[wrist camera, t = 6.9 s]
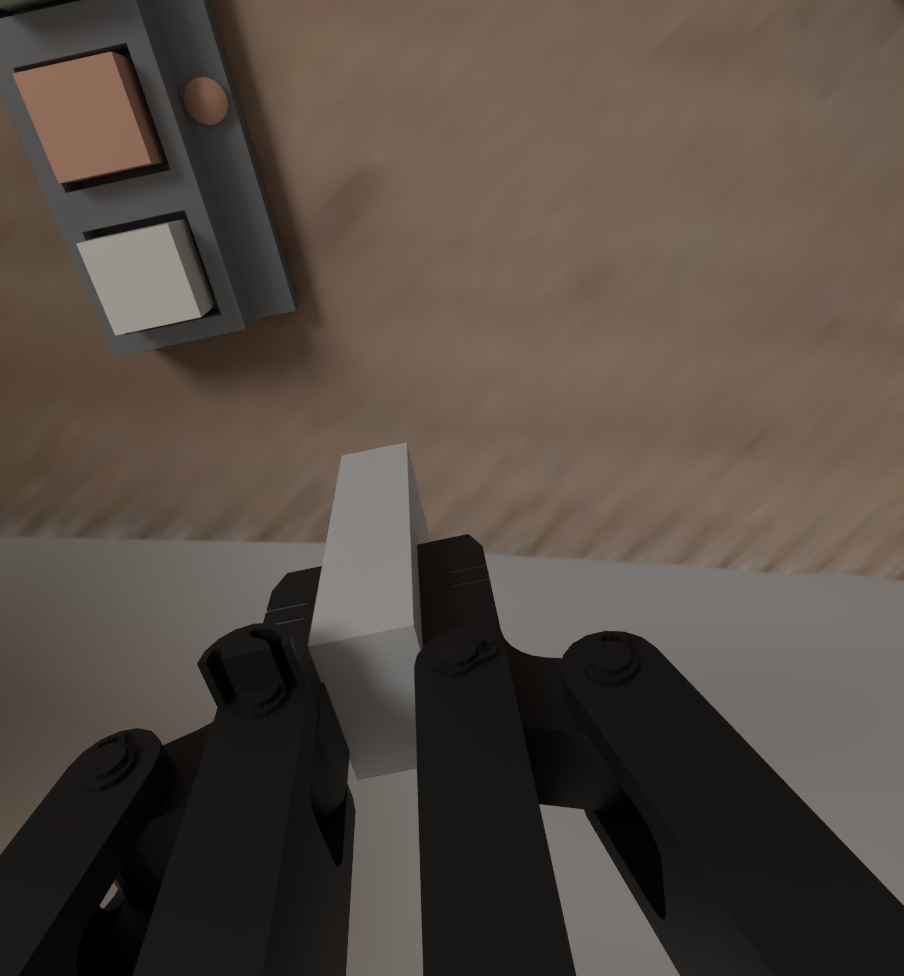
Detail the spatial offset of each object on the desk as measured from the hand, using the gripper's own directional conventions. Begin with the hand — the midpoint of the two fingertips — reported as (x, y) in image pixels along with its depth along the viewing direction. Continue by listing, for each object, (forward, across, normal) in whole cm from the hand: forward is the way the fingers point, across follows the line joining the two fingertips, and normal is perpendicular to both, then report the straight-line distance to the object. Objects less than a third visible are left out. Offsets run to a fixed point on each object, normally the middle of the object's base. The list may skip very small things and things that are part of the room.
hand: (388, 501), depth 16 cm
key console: (+26, +10, -11) cm, 30 cm away
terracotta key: (+24, +11, -11) cm, 29 cm away
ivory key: (+24, +11, -4) cm, 27 cm away
